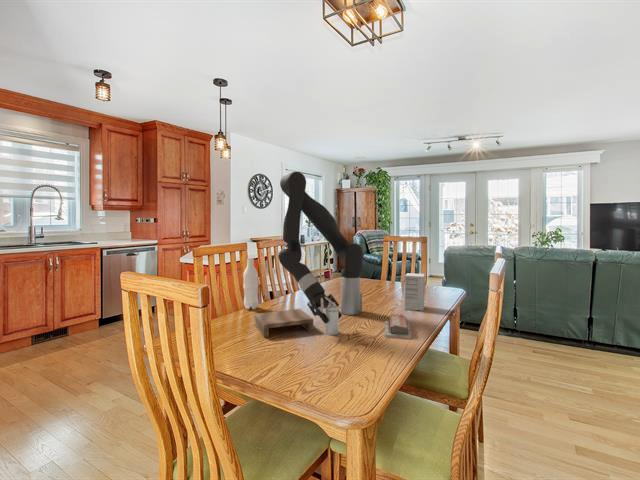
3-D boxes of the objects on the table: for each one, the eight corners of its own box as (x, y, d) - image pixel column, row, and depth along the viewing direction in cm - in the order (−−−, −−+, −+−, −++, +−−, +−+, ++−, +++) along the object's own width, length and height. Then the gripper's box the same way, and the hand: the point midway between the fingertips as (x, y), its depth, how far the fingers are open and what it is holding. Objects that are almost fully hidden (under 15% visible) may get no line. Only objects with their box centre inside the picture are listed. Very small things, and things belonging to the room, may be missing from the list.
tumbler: (335, 330, 142) (335, 305, 141) (340, 334, 137) (340, 308, 136) (323, 331, 140) (323, 307, 139) (328, 335, 135) (328, 310, 135)
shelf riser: (300, 320, 156) (300, 308, 155) (313, 331, 141) (313, 318, 141) (255, 325, 148) (254, 313, 148) (264, 337, 133) (263, 324, 133)
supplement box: (423, 311, 169) (424, 276, 168) (404, 309, 172) (404, 275, 171) (424, 306, 178) (425, 273, 177) (405, 305, 181) (406, 272, 180)
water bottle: (255, 310, 171) (254, 259, 169) (241, 309, 173) (240, 259, 171) (260, 306, 178) (259, 257, 176) (247, 306, 180) (246, 257, 178)
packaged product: (385, 313, 151) (409, 314, 149) (385, 324, 151) (409, 325, 149) (384, 326, 133) (412, 327, 131) (384, 338, 133) (411, 340, 132)
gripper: (304, 284, 136) (328, 318, 130) (326, 279, 147) (349, 310, 141) (294, 295, 140) (317, 329, 134) (316, 289, 151) (338, 320, 145)
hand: (334, 319), depth 137 cm, fingers open, 8 cm apart
